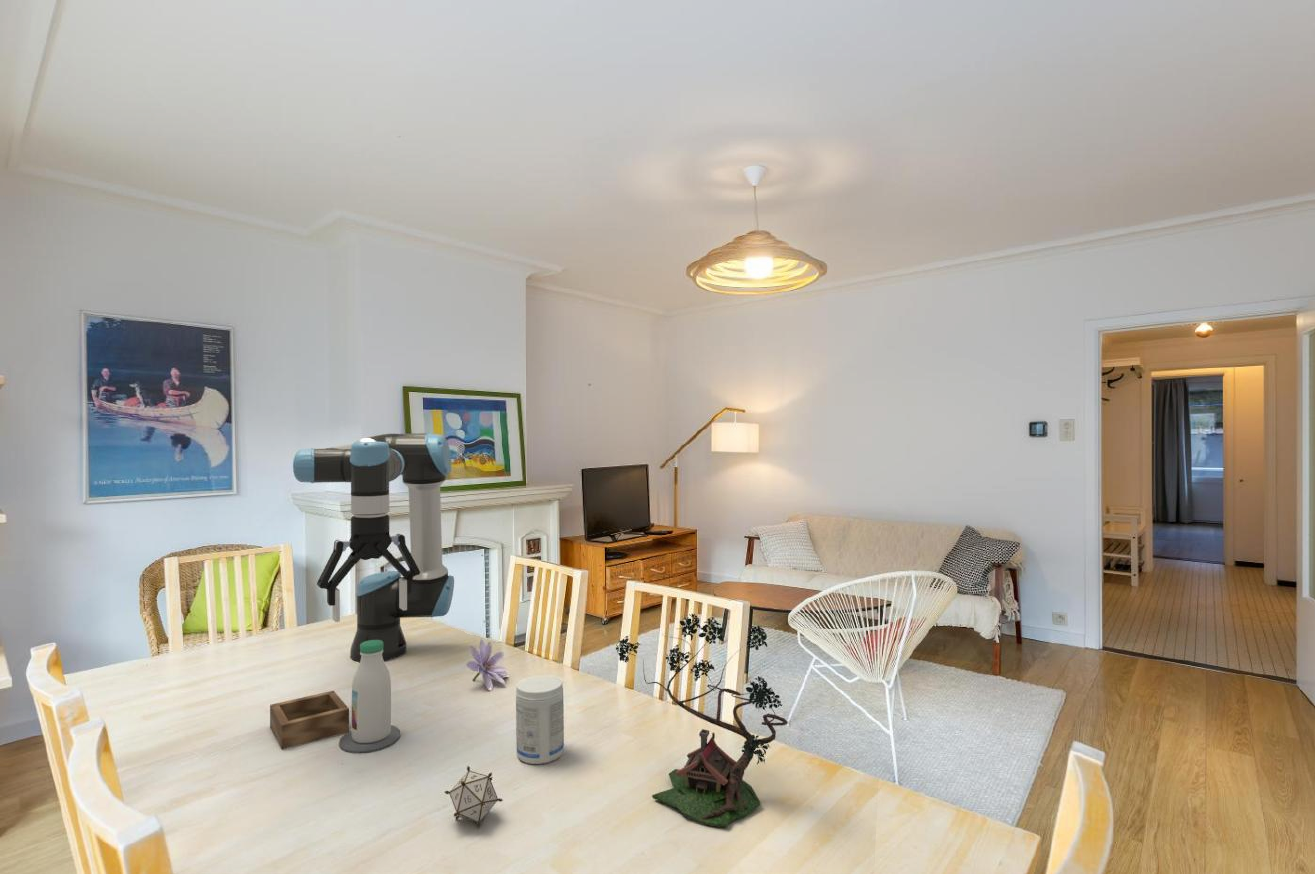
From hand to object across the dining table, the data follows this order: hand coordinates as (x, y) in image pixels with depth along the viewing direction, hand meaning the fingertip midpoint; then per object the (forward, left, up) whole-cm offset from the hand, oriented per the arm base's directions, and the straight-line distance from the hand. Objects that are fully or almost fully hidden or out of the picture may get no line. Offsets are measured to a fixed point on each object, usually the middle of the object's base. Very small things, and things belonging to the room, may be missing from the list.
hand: (370, 614), depth 143 cm
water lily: (-33, -13, -27) cm, 45 cm away
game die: (-5, +41, -27) cm, 49 cm away
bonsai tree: (-42, +56, -27) cm, 75 cm away
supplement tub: (-25, +28, -27) cm, 46 cm away
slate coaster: (0, 0, -27) cm, 27 cm away
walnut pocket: (+9, -13, -27) cm, 31 cm away
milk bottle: (0, 0, -26) cm, 26 cm away
